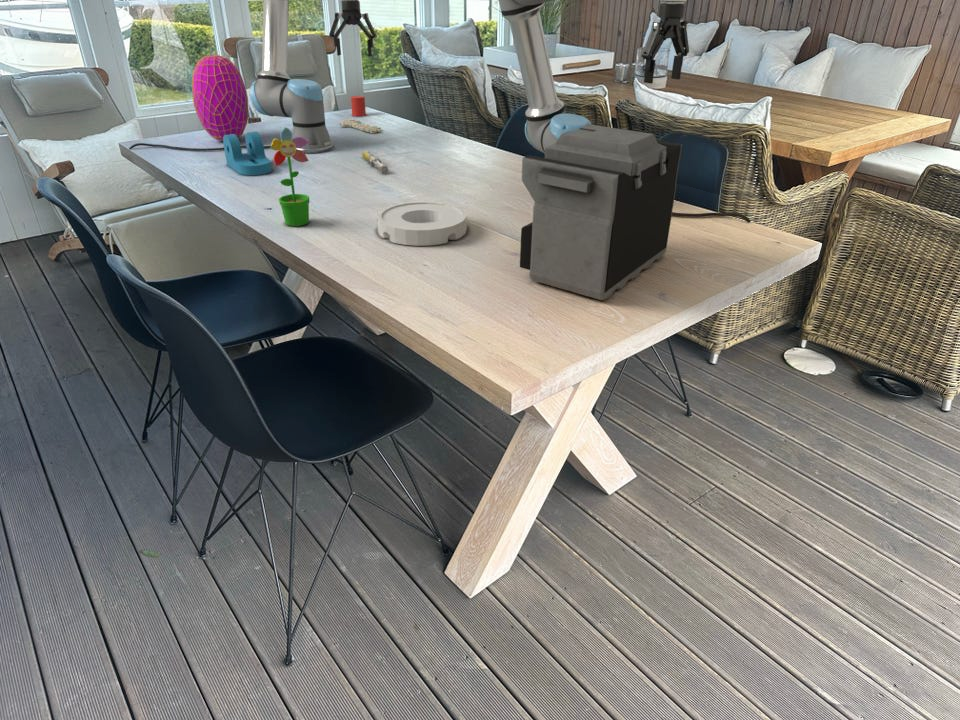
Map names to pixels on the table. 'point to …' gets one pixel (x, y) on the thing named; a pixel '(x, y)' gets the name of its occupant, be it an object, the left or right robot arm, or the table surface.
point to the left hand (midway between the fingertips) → (354, 55)
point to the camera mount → (246, 154)
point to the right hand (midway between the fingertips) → (661, 81)
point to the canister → (358, 106)
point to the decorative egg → (219, 97)
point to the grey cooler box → (598, 208)
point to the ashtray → (422, 223)
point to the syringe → (375, 161)
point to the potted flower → (291, 178)
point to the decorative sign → (360, 126)
